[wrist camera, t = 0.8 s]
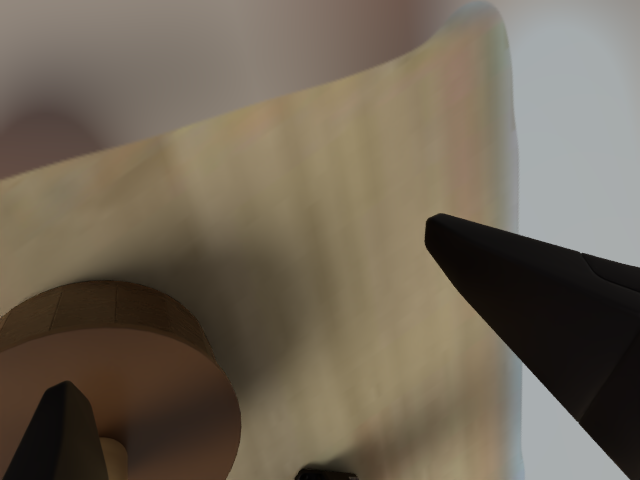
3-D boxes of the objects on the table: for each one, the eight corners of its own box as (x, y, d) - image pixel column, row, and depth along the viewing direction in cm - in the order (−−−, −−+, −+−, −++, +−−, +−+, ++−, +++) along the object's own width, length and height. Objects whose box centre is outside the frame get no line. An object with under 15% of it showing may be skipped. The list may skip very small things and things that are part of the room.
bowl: (239, 400, 31) (264, 465, 26) (48, 506, 27) (28, 610, 22) (158, 242, 25) (167, 283, 20) (-97, 351, 22) (-174, 438, 16)
